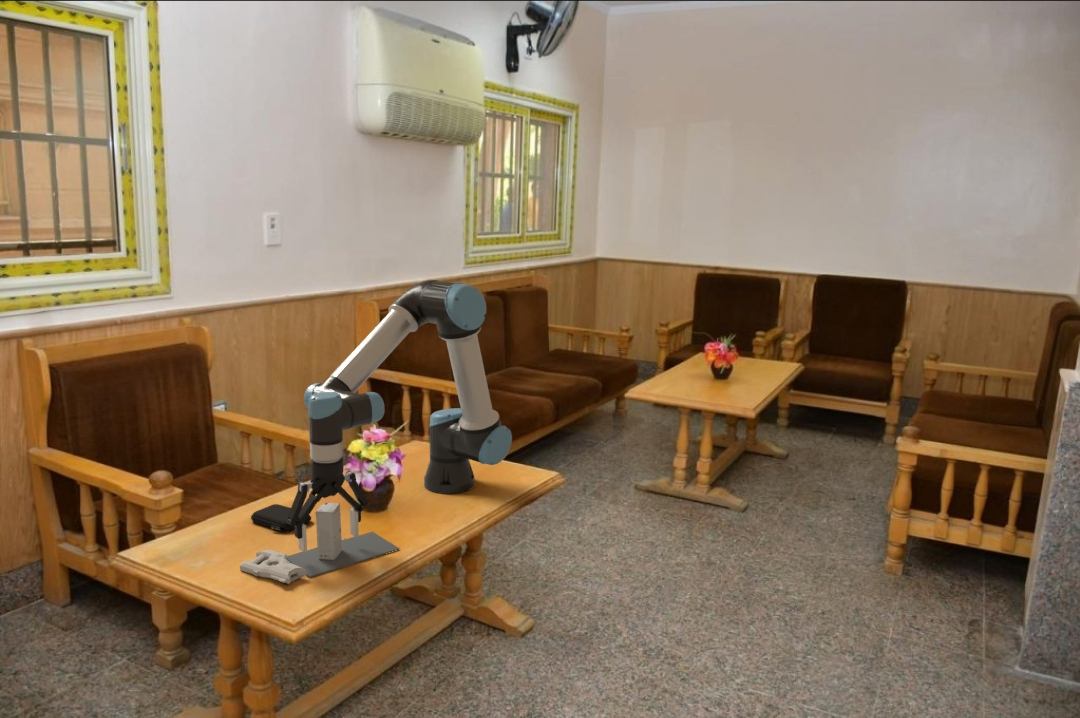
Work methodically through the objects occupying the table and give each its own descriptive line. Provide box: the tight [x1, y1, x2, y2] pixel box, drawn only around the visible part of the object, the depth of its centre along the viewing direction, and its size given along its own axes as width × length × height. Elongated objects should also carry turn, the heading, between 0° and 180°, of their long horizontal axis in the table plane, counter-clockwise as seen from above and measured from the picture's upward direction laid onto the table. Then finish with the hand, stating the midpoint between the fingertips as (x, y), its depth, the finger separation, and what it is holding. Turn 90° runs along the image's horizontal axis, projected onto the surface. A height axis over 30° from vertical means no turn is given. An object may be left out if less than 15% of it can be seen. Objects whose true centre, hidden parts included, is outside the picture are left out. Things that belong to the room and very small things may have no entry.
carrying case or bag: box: [250, 503, 312, 533], centre depth 221 cm, size 11×3×15 cm
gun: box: [239, 549, 307, 585], centre depth 194 cm, size 18×3×10 cm
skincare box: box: [315, 502, 342, 560], centre depth 201 cm, size 6×4×12 cm
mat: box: [287, 531, 401, 579], centre depth 204 cm, size 24×13×1 cm, turn 132°
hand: (329, 542), depth 202 cm, fingers open, 13 cm apart
